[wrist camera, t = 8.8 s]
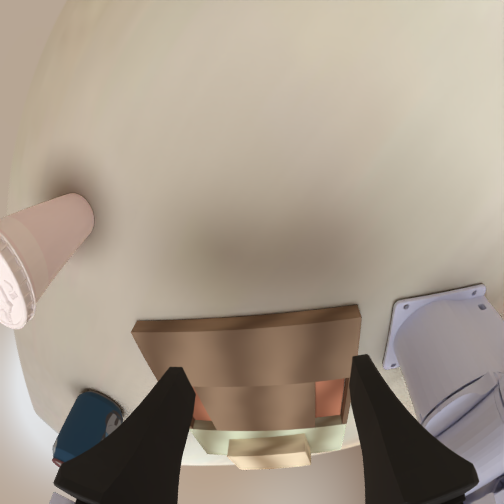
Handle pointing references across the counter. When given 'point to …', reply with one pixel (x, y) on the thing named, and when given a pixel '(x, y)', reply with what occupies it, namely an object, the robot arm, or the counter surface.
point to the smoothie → (38, 252)
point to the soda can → (86, 425)
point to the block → (270, 452)
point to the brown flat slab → (261, 373)
